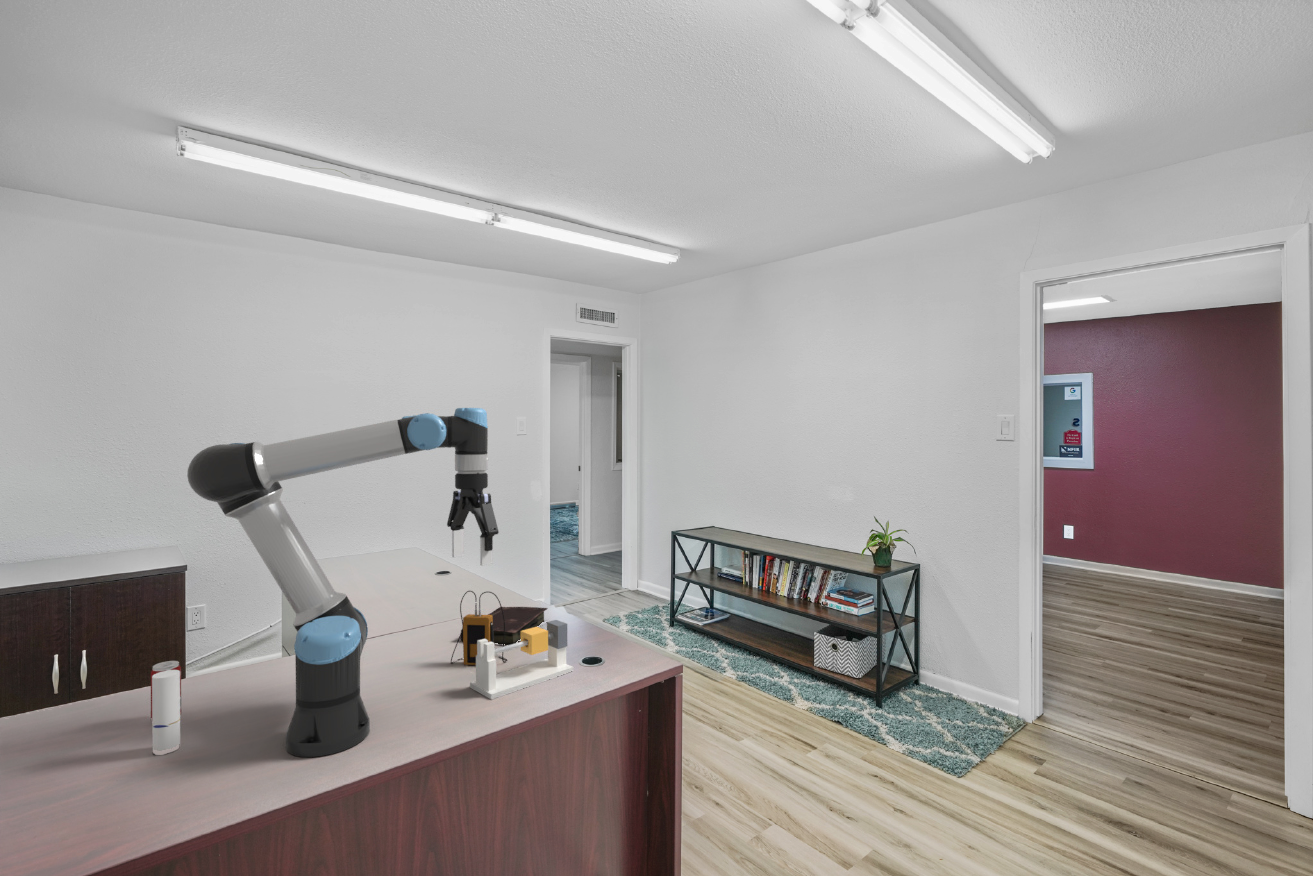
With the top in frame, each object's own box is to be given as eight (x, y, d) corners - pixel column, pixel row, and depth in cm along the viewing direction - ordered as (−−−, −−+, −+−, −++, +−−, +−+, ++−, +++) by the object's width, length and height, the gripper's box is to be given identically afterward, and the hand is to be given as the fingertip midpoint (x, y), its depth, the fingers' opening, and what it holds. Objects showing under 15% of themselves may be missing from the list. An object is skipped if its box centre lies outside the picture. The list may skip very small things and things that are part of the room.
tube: (177, 742, 125) (176, 668, 125) (183, 749, 122) (182, 673, 122) (150, 750, 122) (149, 674, 122) (155, 757, 119) (155, 680, 119)
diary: (459, 644, 185) (459, 628, 185) (498, 620, 210) (498, 605, 210) (517, 648, 181) (517, 631, 181) (550, 622, 206) (549, 607, 206)
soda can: (145, 725, 132) (145, 669, 132) (158, 715, 137) (157, 661, 137) (174, 722, 134) (174, 667, 134) (185, 712, 139) (185, 658, 139)
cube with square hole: (531, 655, 156) (531, 635, 156) (520, 650, 159) (520, 630, 159) (548, 650, 159) (548, 630, 159) (536, 645, 163) (536, 626, 163)
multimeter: (514, 653, 175) (514, 583, 175) (502, 667, 165) (502, 592, 165) (464, 652, 177) (464, 582, 177) (449, 665, 167) (449, 591, 167)
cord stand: (491, 699, 145) (491, 648, 145) (470, 687, 152) (469, 638, 152) (573, 671, 162) (573, 625, 162) (550, 661, 169) (550, 617, 169)
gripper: (513, 473, 143) (513, 565, 143) (460, 469, 160) (461, 551, 160) (484, 475, 137) (484, 570, 138) (432, 470, 155) (433, 555, 155)
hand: (471, 560), depth 149 cm, fingers open, 13 cm apart
